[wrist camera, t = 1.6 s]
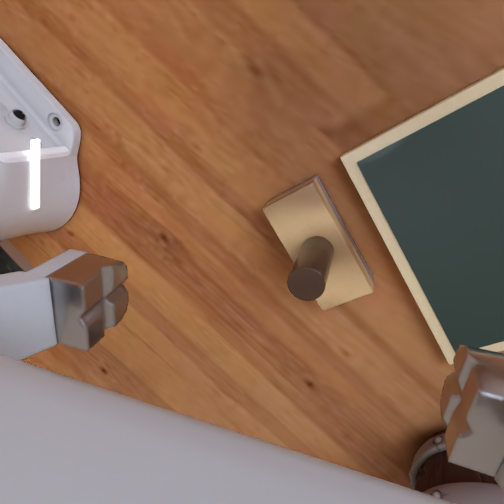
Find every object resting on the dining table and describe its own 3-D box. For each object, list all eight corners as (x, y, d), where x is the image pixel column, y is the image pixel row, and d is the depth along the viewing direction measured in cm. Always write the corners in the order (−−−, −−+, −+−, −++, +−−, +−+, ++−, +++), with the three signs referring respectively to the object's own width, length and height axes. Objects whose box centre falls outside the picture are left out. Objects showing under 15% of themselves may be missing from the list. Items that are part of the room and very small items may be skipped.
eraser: (269, 199, 38) (239, 235, 30) (317, 174, 36) (298, 205, 28) (325, 296, 40) (312, 352, 32) (373, 277, 38) (371, 333, 30)
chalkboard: (340, 155, 34) (339, 157, 34) (540, 47, 28) (545, 46, 27) (447, 358, 39) (449, 365, 38) (639, 306, 33) (647, 313, 32)
